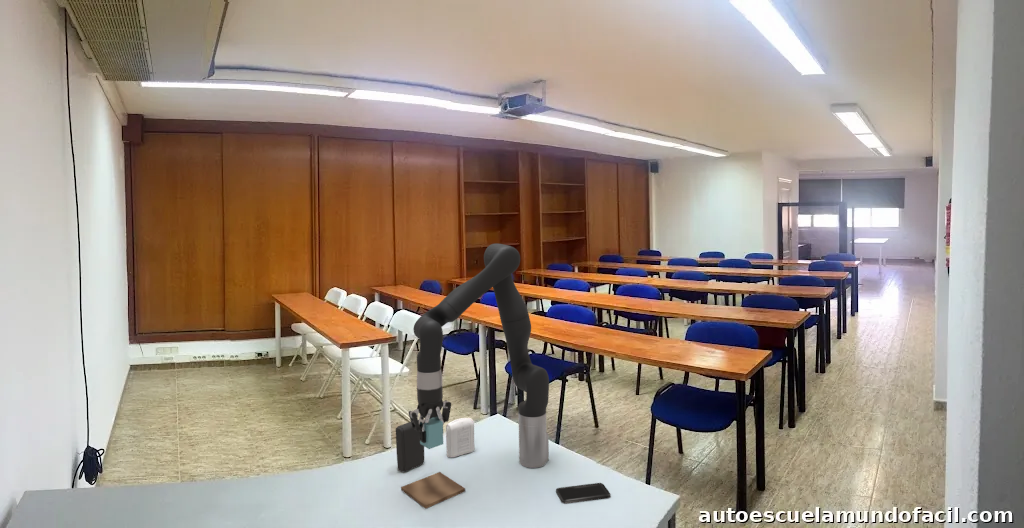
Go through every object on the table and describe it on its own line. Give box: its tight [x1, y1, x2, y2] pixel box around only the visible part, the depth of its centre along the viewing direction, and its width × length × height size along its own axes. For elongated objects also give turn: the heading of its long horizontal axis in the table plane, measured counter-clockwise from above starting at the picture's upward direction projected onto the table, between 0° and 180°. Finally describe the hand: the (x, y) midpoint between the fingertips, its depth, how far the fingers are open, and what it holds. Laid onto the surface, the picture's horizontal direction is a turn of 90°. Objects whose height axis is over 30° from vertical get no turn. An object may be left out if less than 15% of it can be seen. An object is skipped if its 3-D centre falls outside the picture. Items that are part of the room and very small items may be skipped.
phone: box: [555, 482, 611, 505], centre depth 161 cm, size 8×1×15 cm
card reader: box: [395, 419, 425, 473], centre depth 179 cm, size 9×4×15 cm, turn 136°
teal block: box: [420, 418, 444, 450], centre depth 162 cm, size 5×5×7 cm
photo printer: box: [445, 417, 476, 458], centre depth 189 cm, size 10×4×12 cm, turn 123°
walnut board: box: [400, 471, 466, 510], centre depth 164 cm, size 14×14×1 cm
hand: (431, 439), depth 163 cm, fingers closed on teal block, 5 cm apart
